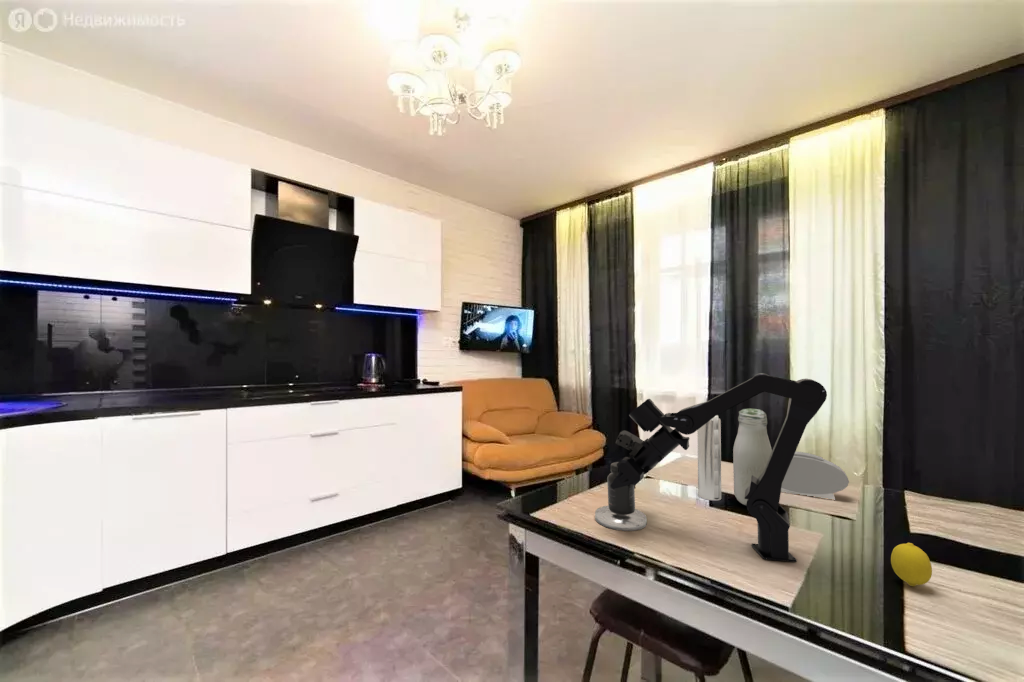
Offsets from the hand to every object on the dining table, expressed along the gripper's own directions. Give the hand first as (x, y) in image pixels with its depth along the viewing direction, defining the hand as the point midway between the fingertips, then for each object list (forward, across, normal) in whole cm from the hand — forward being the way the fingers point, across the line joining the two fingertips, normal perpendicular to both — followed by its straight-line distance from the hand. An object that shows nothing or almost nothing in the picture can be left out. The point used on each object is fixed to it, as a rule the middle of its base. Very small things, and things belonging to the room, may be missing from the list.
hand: (615, 483), depth 107 cm
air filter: (-6, -32, +20) cm, 39 cm away
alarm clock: (-23, -52, +37) cm, 69 cm away
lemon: (-33, 0, +47) cm, 57 cm away
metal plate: (+6, 0, +7) cm, 9 cm away
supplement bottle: (+4, 0, +6) cm, 7 cm away
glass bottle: (-14, -31, +28) cm, 44 cm away
